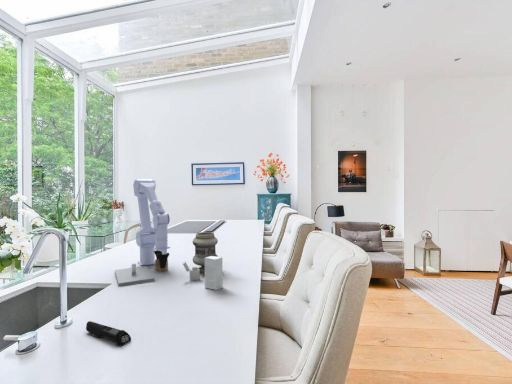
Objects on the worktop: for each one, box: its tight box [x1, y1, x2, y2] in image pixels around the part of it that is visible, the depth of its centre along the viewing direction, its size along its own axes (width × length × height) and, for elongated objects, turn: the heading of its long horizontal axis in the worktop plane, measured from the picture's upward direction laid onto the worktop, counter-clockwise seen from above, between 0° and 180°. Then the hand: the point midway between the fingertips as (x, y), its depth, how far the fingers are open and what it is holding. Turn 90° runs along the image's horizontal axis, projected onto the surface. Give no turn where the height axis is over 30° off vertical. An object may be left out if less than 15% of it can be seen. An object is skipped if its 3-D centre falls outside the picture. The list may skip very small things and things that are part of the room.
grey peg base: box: [114, 262, 156, 287], centre depth 133 cm, size 22×14×6 cm, turn 29°
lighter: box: [182, 261, 201, 281], centre depth 128 cm, size 7×2×8 cm, turn 107°
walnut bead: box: [154, 258, 169, 272], centre depth 143 cm, size 5×5×5 cm
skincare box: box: [204, 256, 224, 291], centre depth 118 cm, size 6×4×12 cm
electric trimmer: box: [85, 320, 132, 347], centre depth 80 cm, size 4×16×3 cm, turn 62°
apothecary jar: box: [192, 231, 219, 275], centre depth 141 cm, size 12×12×18 cm
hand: (161, 266), depth 143 cm, fingers closed on walnut bead, 5 cm apart
